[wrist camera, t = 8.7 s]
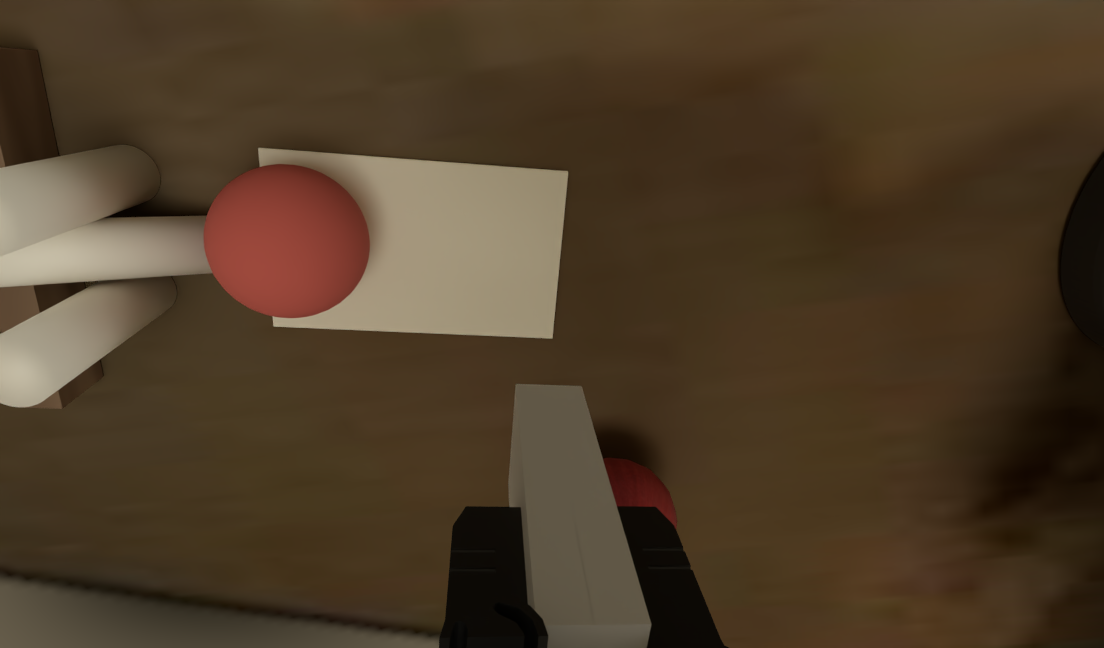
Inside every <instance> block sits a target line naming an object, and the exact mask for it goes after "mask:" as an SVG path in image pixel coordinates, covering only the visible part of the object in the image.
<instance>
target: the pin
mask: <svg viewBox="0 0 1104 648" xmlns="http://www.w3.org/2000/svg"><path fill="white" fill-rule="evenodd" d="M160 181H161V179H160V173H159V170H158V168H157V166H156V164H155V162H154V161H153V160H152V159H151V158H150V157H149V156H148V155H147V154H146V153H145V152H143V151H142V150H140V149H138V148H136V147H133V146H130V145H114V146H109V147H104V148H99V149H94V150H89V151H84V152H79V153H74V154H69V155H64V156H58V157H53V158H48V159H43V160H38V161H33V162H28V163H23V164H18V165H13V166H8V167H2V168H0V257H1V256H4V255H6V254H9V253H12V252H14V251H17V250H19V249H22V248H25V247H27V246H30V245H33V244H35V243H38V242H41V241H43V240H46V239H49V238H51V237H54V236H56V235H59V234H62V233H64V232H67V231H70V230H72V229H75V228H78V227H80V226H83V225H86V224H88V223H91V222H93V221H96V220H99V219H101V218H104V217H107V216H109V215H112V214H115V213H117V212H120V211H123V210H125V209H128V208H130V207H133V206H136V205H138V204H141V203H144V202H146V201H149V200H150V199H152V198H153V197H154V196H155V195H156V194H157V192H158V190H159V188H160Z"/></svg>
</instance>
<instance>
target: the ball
mask: <svg viewBox="0 0 1104 648" xmlns="http://www.w3.org/2000/svg"><path fill="white" fill-rule="evenodd" d="M204 249H205V254H206V257H207V260H208V263H209V266H210V268H211V270H212V272H213V274H214V276H215V277H216V279H217V280H218V282H219V283H220V284H221V286H222V287H223V288H224V289H225V290H226V291H227V292H228V293H229V294H230V295H231V296H232V297H233V298H235V299H236V300H237V301H239V302H240V303H242V304H243V305H245V306H246V307H248V308H250V309H253V310H255V311H257V312H260V313H262V314H266V315H270V316H274V317H280V318H302V317H308V316H313V315H316V314H319V313H322V312H324V311H327V310H329V309H331V308H332V307H334V306H336V305H337V304H339V303H341V302H342V301H343V300H344V299H345V298H346V297H347V296H349V295H350V294H351V293H352V291H353V290H354V289H355V288H356V286H357V285H358V283H359V282H360V280H361V279H362V276H363V274H364V272H365V269H366V266H367V263H368V259H369V252H370V238H369V231H368V227H367V223H366V221H365V218H364V216H363V213H362V211H361V209H360V207H359V206H358V204H357V203H356V201H355V200H354V199H353V197H352V196H351V195H350V194H349V193H348V191H347V190H345V189H344V188H343V187H342V186H341V185H340V184H339V183H337V182H336V181H335V180H333V179H332V178H330V177H328V176H326V175H325V174H323V173H321V172H318V171H316V170H313V169H310V168H307V167H303V166H298V165H290V164H274V165H267V166H262V167H258V168H255V169H252V170H249V171H247V172H245V173H243V174H241V175H239V176H238V177H236V178H235V179H234V180H232V181H231V182H229V183H228V184H227V185H226V186H225V187H224V188H223V189H222V190H221V191H220V193H219V194H218V195H217V196H216V198H215V200H214V201H213V203H212V205H211V207H210V209H209V211H208V214H207V217H206V221H205V226H204Z"/></svg>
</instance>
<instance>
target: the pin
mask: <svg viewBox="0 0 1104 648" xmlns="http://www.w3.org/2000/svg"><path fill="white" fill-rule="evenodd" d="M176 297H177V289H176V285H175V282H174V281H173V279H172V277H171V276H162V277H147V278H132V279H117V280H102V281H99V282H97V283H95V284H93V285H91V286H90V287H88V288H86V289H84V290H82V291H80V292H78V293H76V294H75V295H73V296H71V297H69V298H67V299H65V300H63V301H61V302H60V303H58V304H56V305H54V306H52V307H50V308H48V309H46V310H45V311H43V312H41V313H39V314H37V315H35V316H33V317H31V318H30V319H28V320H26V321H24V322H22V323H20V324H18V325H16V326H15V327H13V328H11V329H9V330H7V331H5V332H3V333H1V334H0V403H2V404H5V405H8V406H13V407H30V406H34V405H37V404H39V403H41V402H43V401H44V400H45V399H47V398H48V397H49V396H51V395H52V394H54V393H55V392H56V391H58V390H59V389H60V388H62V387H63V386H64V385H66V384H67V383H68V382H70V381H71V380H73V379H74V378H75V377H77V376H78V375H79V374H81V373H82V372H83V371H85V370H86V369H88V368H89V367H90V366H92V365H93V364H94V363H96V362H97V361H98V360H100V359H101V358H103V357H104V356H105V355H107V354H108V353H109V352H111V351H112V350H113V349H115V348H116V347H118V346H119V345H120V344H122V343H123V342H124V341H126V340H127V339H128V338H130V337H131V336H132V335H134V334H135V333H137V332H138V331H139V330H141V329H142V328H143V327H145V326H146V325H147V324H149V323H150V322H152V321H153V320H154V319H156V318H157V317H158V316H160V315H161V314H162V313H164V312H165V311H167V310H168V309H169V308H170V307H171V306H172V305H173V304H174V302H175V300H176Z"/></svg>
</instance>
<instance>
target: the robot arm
mask: <svg viewBox="0 0 1104 648" xmlns="http://www.w3.org/2000/svg"><path fill="white" fill-rule="evenodd" d="M1061 283H1062V290H1063V295H1064V299H1065V302H1066V305H1067V308H1068V310H1069V312H1070V314H1071V316H1072V318H1073V320H1074V321H1075V323H1076V324H1077V326H1078V327H1079V328H1080V329H1081V331H1082V332H1083V333H1084V334H1085V335H1086V336H1087V337H1089V338H1090V339H1091V340H1093V341H1094V342H1095V343H1097V344H1099V345H1100V346H1102V347H1104V157H1103V159H1102V160H1101V161H1100V163H1099V164H1098V166H1097V167H1096V169H1095V170H1094V172H1093V173H1092V175H1091V177H1090V178H1089V180H1088V182H1087V183H1086V185H1085V187H1084V189H1083V191H1082V193H1081V195H1080V197H1079V199H1078V201H1077V203H1076V206H1075V208H1074V210H1073V213H1072V216H1071V218H1070V221H1069V224H1068V228H1067V231H1066V235H1065V239H1064V244H1063V250H1062V257H1061ZM508 487H509V507H465V509H464V510H463V512H462V513H461V515H460V516H459V518H458V519H457V521H456V522H455V524H454V525H453V531H452V543H451V555H450V568H449V580H448V592H447V605H446V617H445V622H444V625H443V629H442V632H441V635H440V639H439V648H728V647H726V646H724V644H723V642H722V641H721V639H720V636H719V634H718V631H717V629H716V627H715V624H714V622H713V619H712V617H711V614H710V612H709V609H708V607H707V605H706V602H705V600H704V597H703V595H702V592H701V590H700V587H699V585H698V583H697V580H696V578H695V575H694V573H693V570H691V569H690V563H689V561H688V558H687V556H686V553H685V552H683V546H682V543H681V541H680V538H679V536H678V534H677V531H676V529H675V526H674V525H673V524H672V523H671V522H670V521H669V520H668V519H667V518H666V517H665V516H664V515H663V514H662V512H661V511H660V510H659V509H658V508H657V507H643V506H617V505H616V502H615V499H614V495H613V492H612V488H611V485H610V482H609V478H608V475H607V471H606V468H605V465H604V461H603V458H602V454H601V451H600V448H599V444H598V441H597V437H596V434H595V431H594V427H593V424H592V420H591V417H590V414H589V410H588V407H587V403H586V400H585V397H584V393H583V390H582V386H560V385H531V384H516V388H515V401H514V415H513V429H512V442H511V456H510V469H509V483H508Z"/></svg>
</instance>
